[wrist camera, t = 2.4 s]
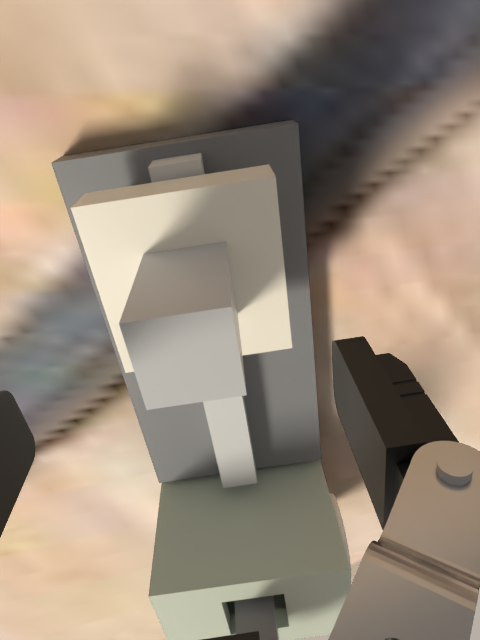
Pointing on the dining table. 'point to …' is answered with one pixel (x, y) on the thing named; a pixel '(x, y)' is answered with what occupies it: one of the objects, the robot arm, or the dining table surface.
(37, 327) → the dining table surface
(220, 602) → the end cabinet
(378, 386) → the robot arm
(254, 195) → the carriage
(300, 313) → the rail board
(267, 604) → the button
